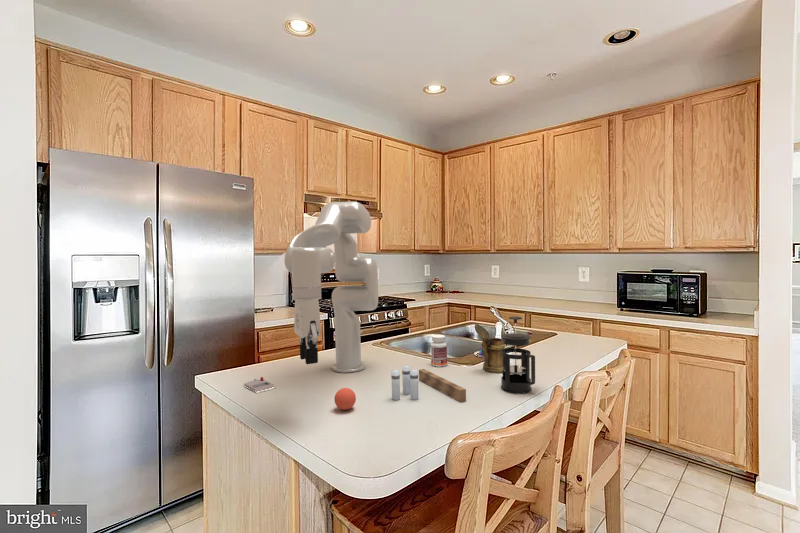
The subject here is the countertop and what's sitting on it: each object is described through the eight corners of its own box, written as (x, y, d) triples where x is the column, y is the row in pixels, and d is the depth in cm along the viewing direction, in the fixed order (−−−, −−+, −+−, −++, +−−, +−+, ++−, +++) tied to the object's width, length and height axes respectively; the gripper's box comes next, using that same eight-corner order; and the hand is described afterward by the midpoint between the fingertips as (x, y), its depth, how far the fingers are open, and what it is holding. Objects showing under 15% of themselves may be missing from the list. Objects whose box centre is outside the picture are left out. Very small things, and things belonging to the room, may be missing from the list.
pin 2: (408, 397, 123) (408, 370, 122) (416, 396, 124) (415, 368, 123) (412, 400, 120) (412, 372, 120) (420, 398, 122) (419, 370, 121)
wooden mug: (468, 370, 149) (467, 322, 149) (495, 364, 156) (494, 318, 156) (485, 376, 142) (484, 325, 141) (512, 370, 149) (512, 321, 148)
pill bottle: (450, 365, 157) (450, 336, 156) (437, 368, 153) (437, 338, 153) (440, 361, 162) (439, 333, 161) (428, 364, 158) (427, 335, 158)
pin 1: (401, 392, 127) (400, 366, 127) (408, 391, 128) (407, 364, 128) (405, 395, 125) (404, 368, 125) (412, 393, 126) (411, 366, 126)
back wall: (419, 379, 140) (418, 369, 139) (424, 379, 140) (423, 369, 140) (460, 402, 118) (460, 390, 118) (466, 401, 119) (465, 389, 119)
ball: (331, 407, 116) (331, 387, 116) (351, 403, 119) (351, 383, 118) (338, 415, 111) (338, 393, 110) (359, 410, 113) (358, 389, 113)
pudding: (509, 356, 170) (509, 344, 169) (488, 361, 163) (488, 348, 163) (488, 350, 180) (488, 339, 179) (468, 355, 173) (467, 342, 173)
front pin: (390, 398, 123) (389, 370, 122) (397, 396, 124) (397, 369, 123) (394, 401, 120) (393, 372, 120) (401, 399, 121) (401, 371, 121)
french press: (493, 388, 130) (492, 316, 129) (510, 381, 136) (510, 313, 135) (524, 397, 121) (524, 321, 120) (542, 390, 127) (541, 317, 126)
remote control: (259, 397, 128) (258, 387, 128) (239, 385, 139) (239, 377, 139) (278, 391, 132) (278, 382, 132) (258, 381, 144) (257, 372, 144)
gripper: (286, 292, 115) (288, 355, 115) (300, 297, 100) (302, 371, 100) (312, 290, 118) (314, 352, 119) (330, 295, 103) (332, 366, 104)
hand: (308, 360), depth 109 cm, fingers open, 4 cm apart
